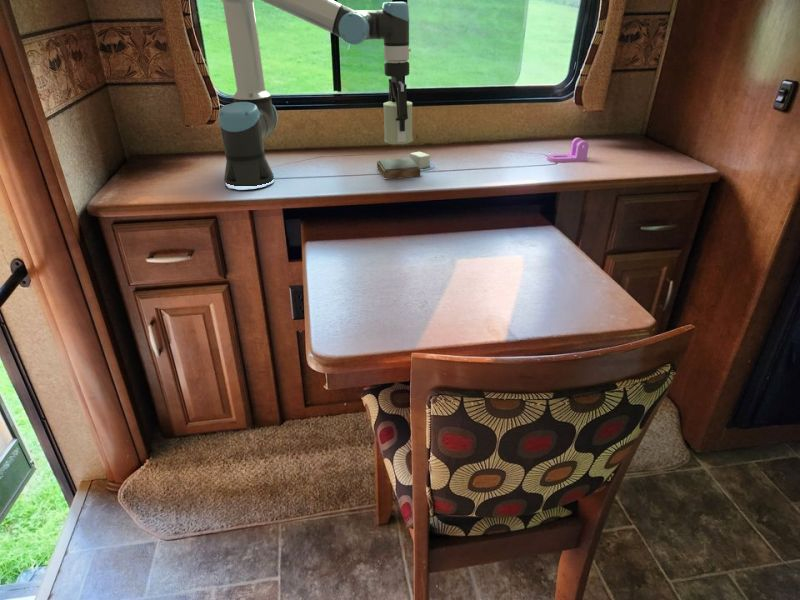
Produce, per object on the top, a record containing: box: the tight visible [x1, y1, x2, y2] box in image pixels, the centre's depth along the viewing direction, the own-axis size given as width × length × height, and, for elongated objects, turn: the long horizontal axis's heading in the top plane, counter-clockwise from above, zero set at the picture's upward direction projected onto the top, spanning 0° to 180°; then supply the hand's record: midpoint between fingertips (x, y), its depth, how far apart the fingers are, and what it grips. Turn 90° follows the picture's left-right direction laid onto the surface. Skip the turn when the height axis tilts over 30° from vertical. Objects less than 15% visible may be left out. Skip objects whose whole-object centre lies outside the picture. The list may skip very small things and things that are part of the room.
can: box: [383, 100, 414, 145], centre depth 164 cm, size 9×9×12 cm
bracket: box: [546, 137, 590, 164], centre depth 181 cm, size 13×6×7 cm, turn 97°
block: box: [409, 151, 431, 169], centre depth 178 cm, size 4×6×4 cm, turn 32°
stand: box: [376, 157, 422, 179], centre depth 172 cm, size 12×12×3 cm
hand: (398, 137), depth 167 cm, fingers closed on can, 9 cm apart
